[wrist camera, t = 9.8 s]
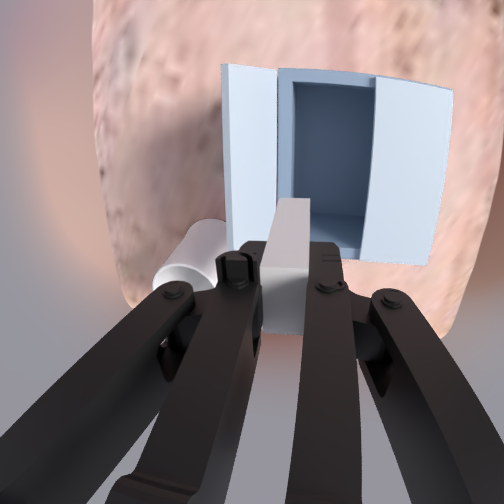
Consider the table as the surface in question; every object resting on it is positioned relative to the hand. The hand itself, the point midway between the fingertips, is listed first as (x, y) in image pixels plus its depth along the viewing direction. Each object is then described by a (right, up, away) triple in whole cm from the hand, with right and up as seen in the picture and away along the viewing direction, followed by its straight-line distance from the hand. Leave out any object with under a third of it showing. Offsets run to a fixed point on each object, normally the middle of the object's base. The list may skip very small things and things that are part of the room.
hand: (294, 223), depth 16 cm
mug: (-6, -1, +29) cm, 30 cm away
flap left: (-2, +5, +10) cm, 11 cm away
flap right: (+12, +6, +11) cm, 17 cm away
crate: (+10, +10, +20) cm, 25 cm away
